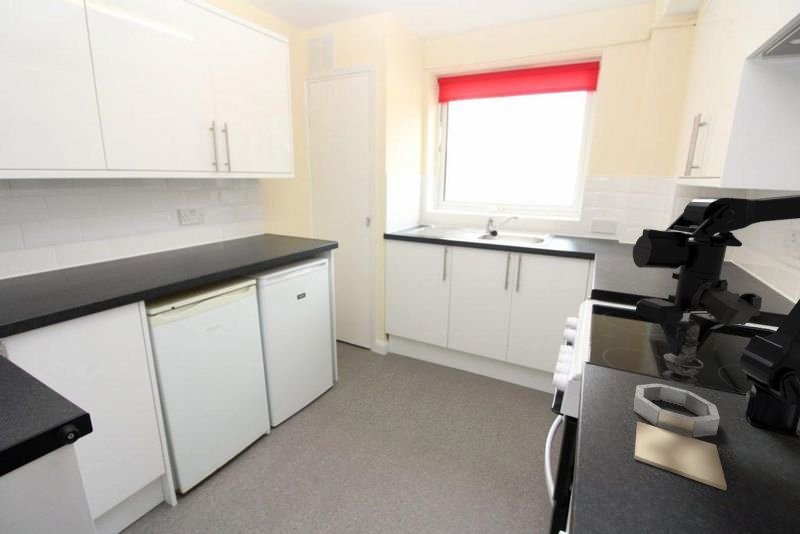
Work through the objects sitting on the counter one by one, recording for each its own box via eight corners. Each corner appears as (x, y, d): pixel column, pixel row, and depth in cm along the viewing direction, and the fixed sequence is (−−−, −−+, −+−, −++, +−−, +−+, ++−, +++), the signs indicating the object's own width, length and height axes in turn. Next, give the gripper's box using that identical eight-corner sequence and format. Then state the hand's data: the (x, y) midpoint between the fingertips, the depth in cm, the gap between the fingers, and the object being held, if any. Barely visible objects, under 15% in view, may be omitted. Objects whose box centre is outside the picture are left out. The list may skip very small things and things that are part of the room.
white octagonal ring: (710, 411, 73) (713, 397, 72) (719, 445, 62) (723, 429, 62) (635, 391, 79) (637, 378, 79) (632, 419, 69) (635, 404, 69)
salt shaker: (660, 367, 73) (671, 308, 71) (698, 376, 70) (710, 315, 68) (660, 379, 68) (672, 316, 66) (701, 389, 65) (715, 324, 63)
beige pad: (715, 448, 62) (715, 445, 62) (726, 490, 53) (726, 487, 53) (636, 424, 68) (637, 421, 68) (634, 458, 59) (634, 455, 58)
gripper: (700, 282, 56) (681, 379, 59) (797, 280, 60) (774, 371, 63) (639, 267, 67) (626, 350, 70) (725, 266, 70) (708, 345, 73)
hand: (683, 354), depth 68 cm, fingers closed on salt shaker, 3 cm apart
